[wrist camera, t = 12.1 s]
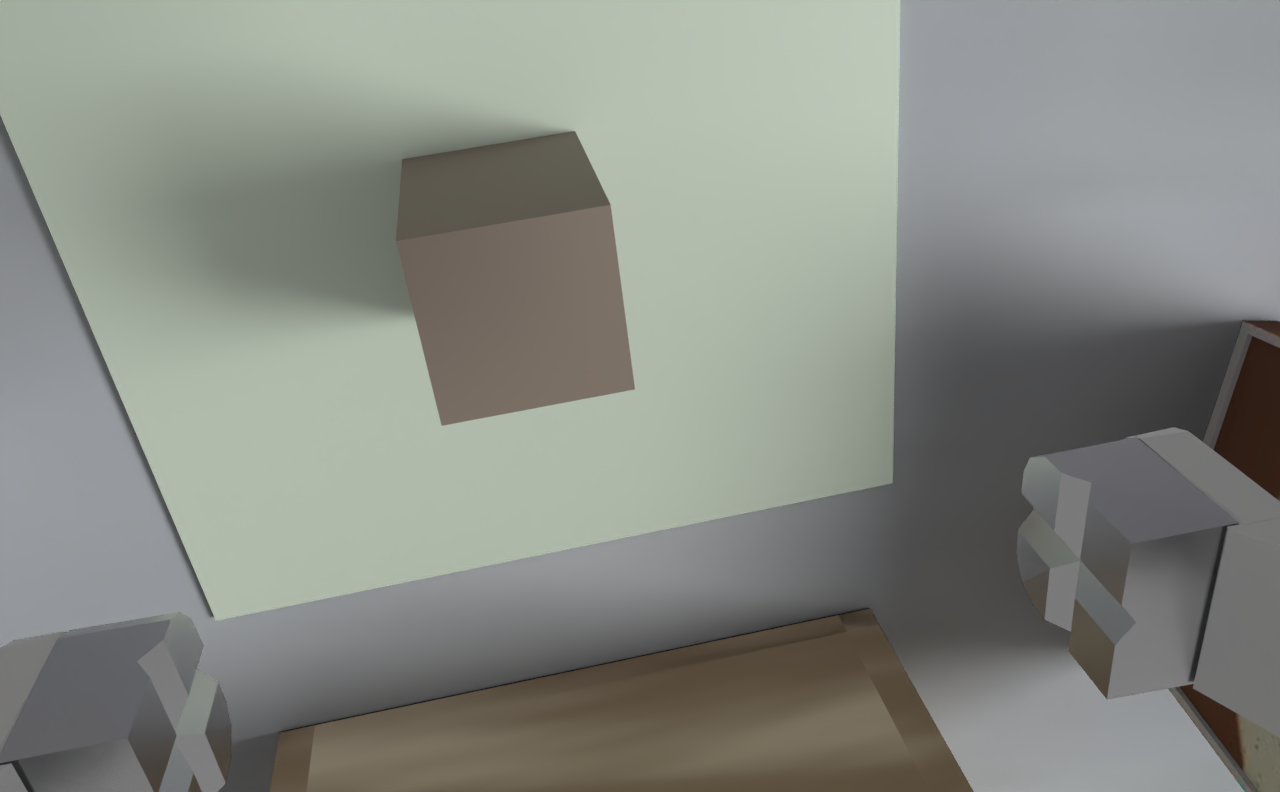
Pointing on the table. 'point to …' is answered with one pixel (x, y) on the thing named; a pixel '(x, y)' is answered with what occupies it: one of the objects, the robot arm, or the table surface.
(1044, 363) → the table surface
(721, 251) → the lid
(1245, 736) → the food container
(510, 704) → the box
